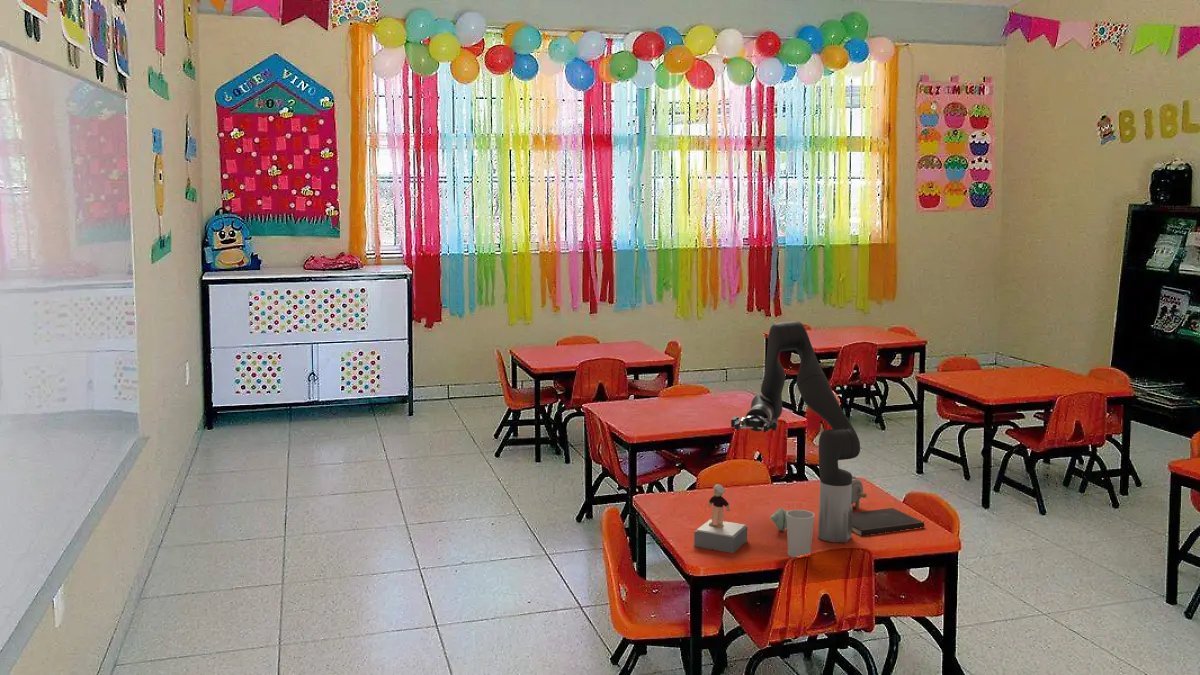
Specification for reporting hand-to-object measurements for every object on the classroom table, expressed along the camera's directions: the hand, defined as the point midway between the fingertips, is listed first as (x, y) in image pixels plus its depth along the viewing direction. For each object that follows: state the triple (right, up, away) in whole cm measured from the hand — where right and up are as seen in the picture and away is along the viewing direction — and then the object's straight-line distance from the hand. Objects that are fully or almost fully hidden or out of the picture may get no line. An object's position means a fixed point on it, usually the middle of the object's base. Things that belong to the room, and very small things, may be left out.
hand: (750, 428), depth 324 cm
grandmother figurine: (-12, -28, -16) cm, 34 cm away
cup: (+10, -34, -25) cm, 43 cm away
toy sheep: (+34, -28, +20) cm, 48 cm away
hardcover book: (+40, -31, +3) cm, 51 cm away
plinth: (-11, -33, -16) cm, 38 cm away
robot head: (+9, -31, -4) cm, 33 cm away
